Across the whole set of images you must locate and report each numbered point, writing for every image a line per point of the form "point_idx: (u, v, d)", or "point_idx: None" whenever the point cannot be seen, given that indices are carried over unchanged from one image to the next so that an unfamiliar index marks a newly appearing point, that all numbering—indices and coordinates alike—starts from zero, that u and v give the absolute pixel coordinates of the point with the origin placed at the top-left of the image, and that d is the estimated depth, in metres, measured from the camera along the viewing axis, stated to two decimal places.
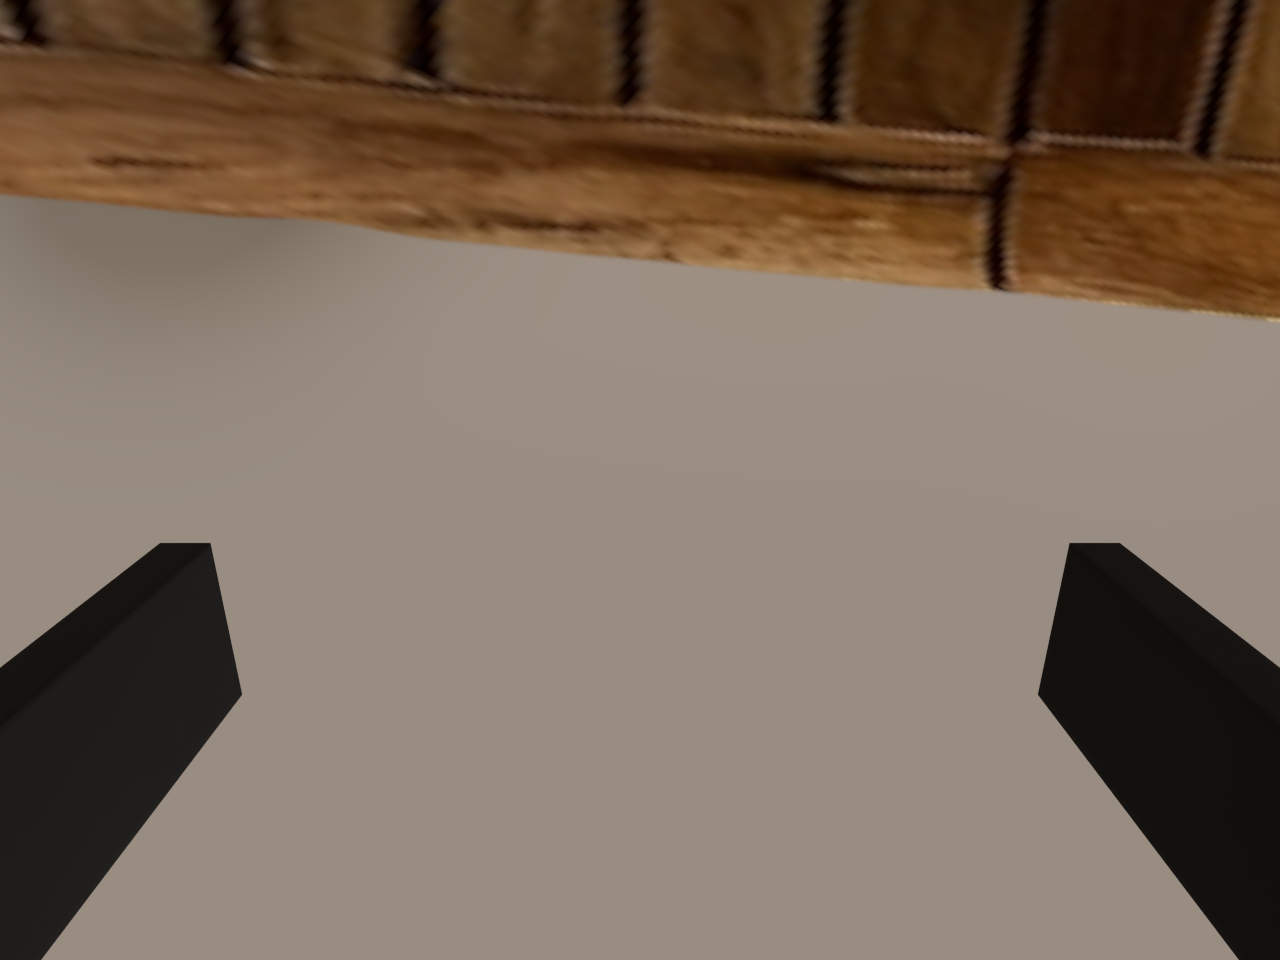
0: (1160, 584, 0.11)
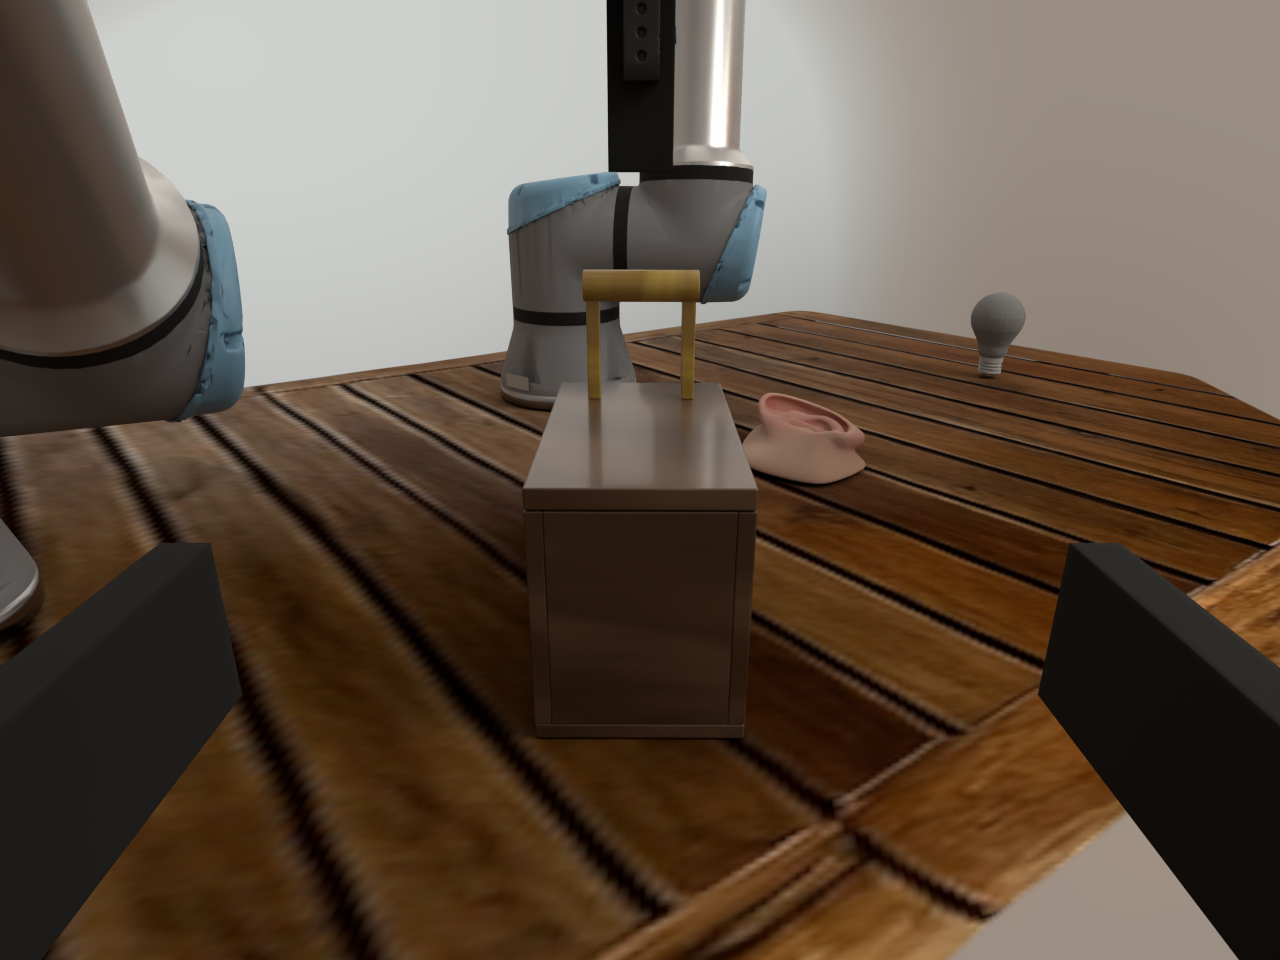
0: (1160, 584, 0.11)
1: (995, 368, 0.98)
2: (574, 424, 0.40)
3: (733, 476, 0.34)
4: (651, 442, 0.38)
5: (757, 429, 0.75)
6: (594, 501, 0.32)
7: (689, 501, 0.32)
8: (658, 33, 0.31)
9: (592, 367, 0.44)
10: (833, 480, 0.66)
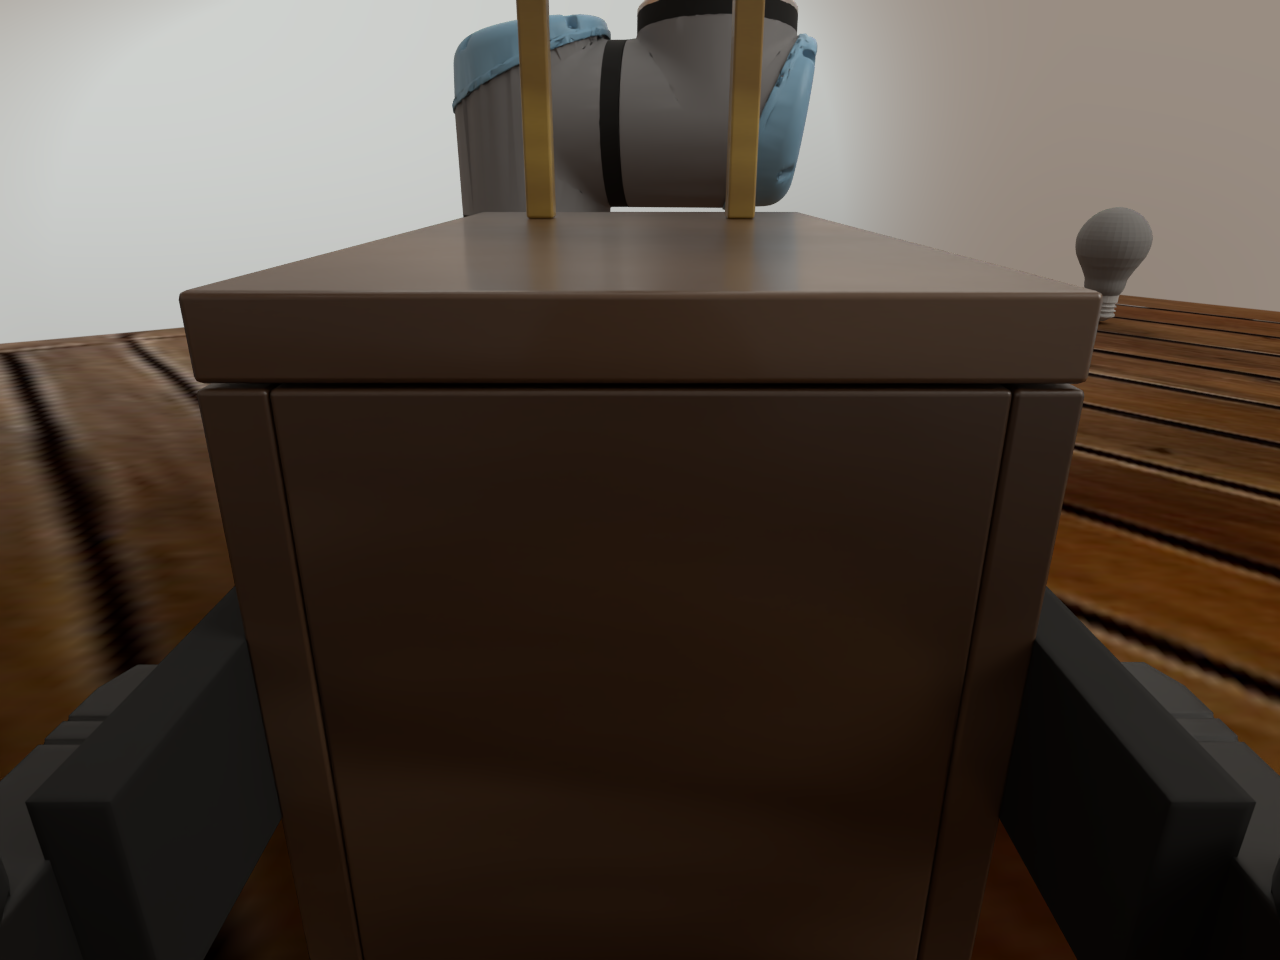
0: None
1: (1108, 310, 0.74)
2: (475, 232, 0.16)
3: (971, 275, 0.09)
4: (671, 244, 0.14)
5: None
6: (463, 346, 0.08)
7: (831, 346, 0.08)
8: None
9: (532, 142, 0.20)
10: None
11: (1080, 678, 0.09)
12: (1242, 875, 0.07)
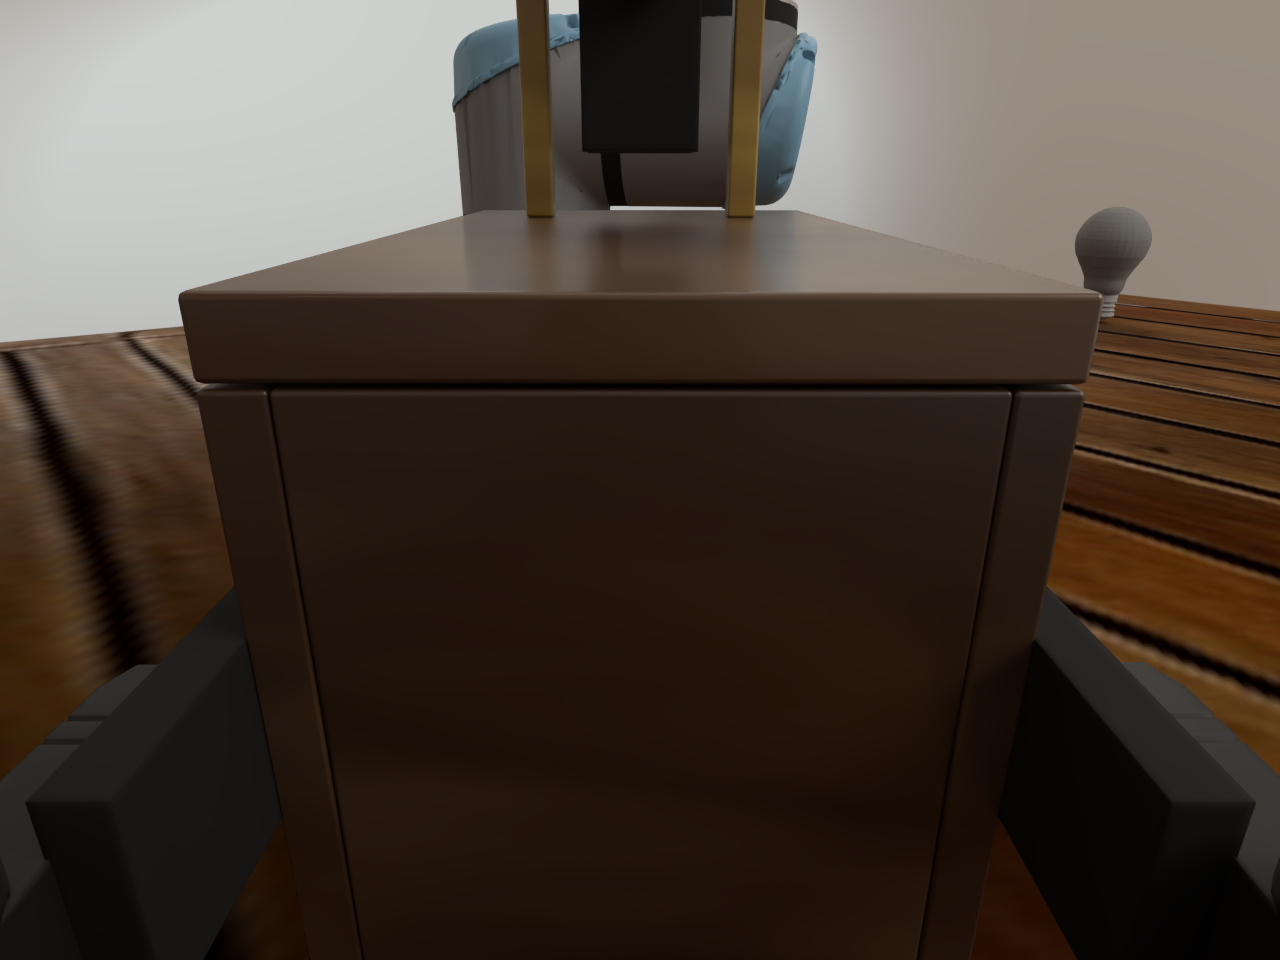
0: None
1: (1108, 309, 0.74)
2: (474, 230, 0.16)
3: (972, 276, 0.09)
4: (671, 243, 0.14)
5: None
6: (463, 347, 0.08)
7: (832, 346, 0.08)
8: None
9: (532, 139, 0.20)
10: None
11: (1080, 678, 0.09)
12: (1242, 875, 0.07)
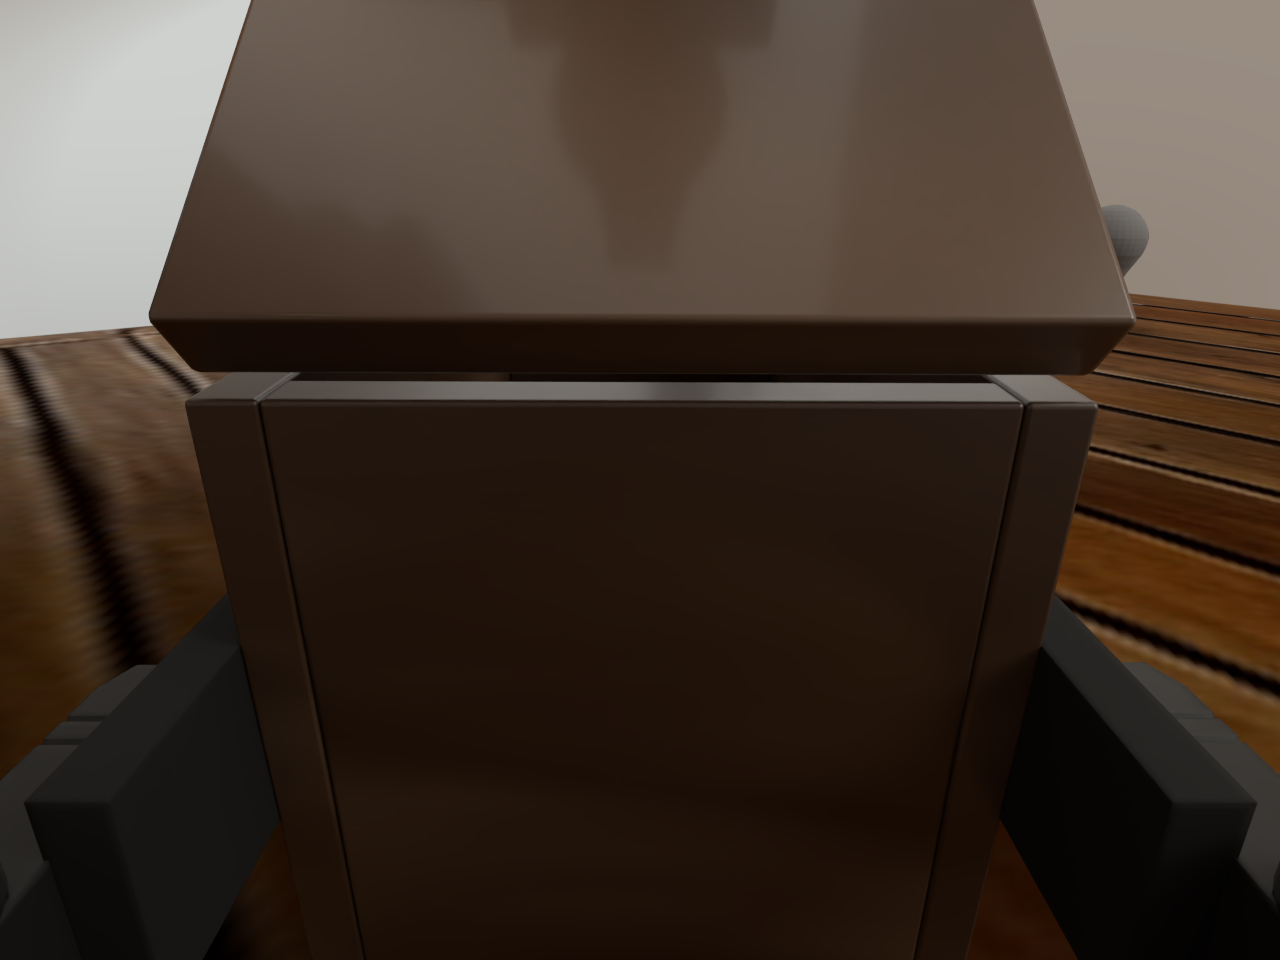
0: None
1: None
2: None
3: (1022, 213, 0.08)
4: None
5: None
6: (459, 354, 0.08)
7: (838, 354, 0.08)
8: None
9: None
10: None
11: (1081, 678, 0.09)
12: (1244, 875, 0.07)
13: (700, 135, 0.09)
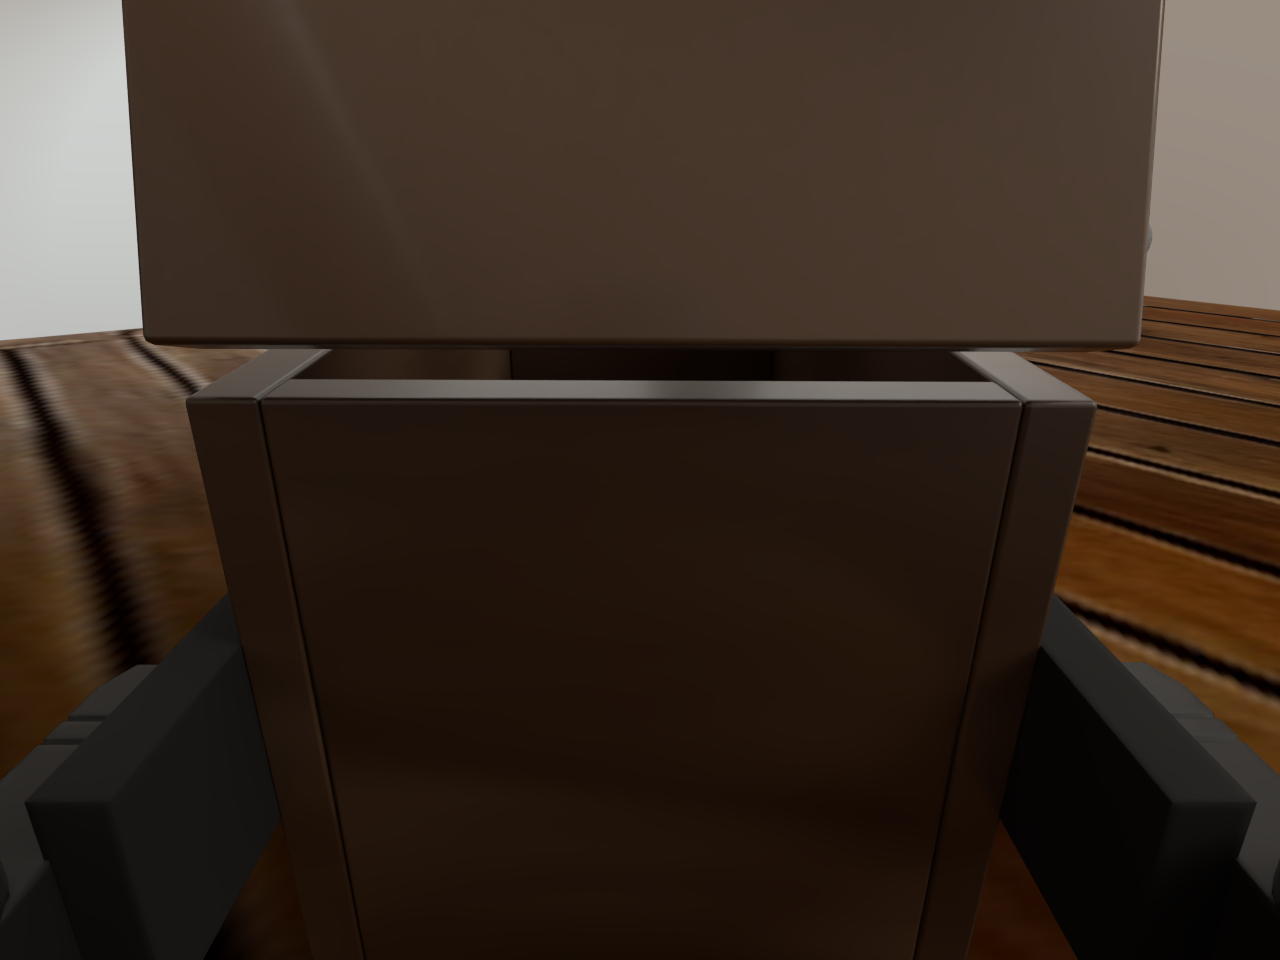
0: None
1: None
2: None
3: (1060, 198, 0.07)
4: None
5: None
6: (459, 348, 0.08)
7: (837, 349, 0.08)
8: None
9: None
10: None
11: (1081, 678, 0.09)
12: (1242, 875, 0.07)
13: (710, 72, 0.07)
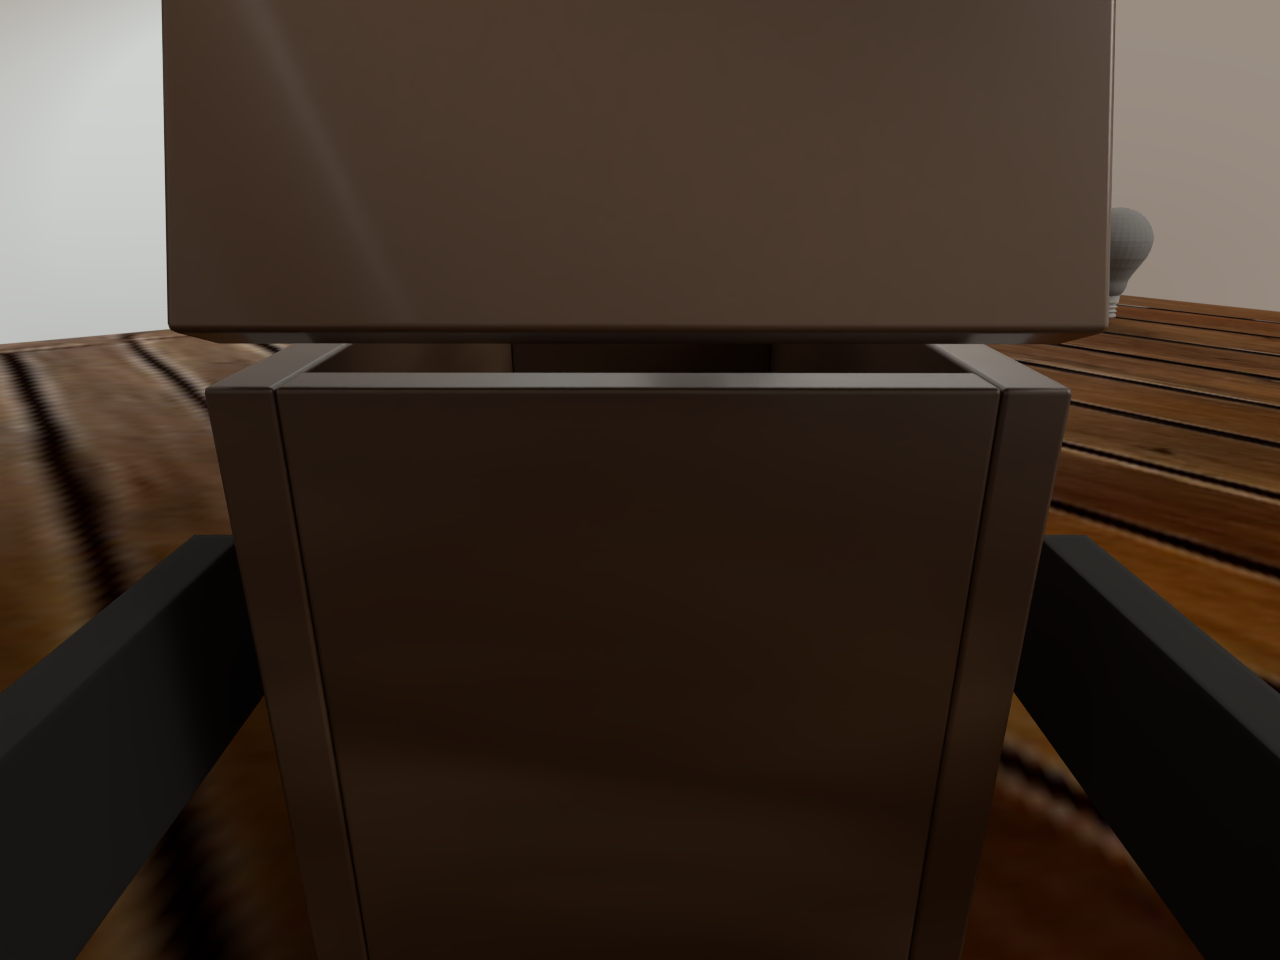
0: (1121, 574, 0.11)
1: (1109, 310, 0.74)
2: None
3: (1027, 194, 0.08)
4: None
5: None
6: (465, 340, 0.09)
7: (823, 339, 0.09)
8: None
9: None
10: None
11: (1264, 731, 0.08)
12: None
13: (700, 81, 0.08)
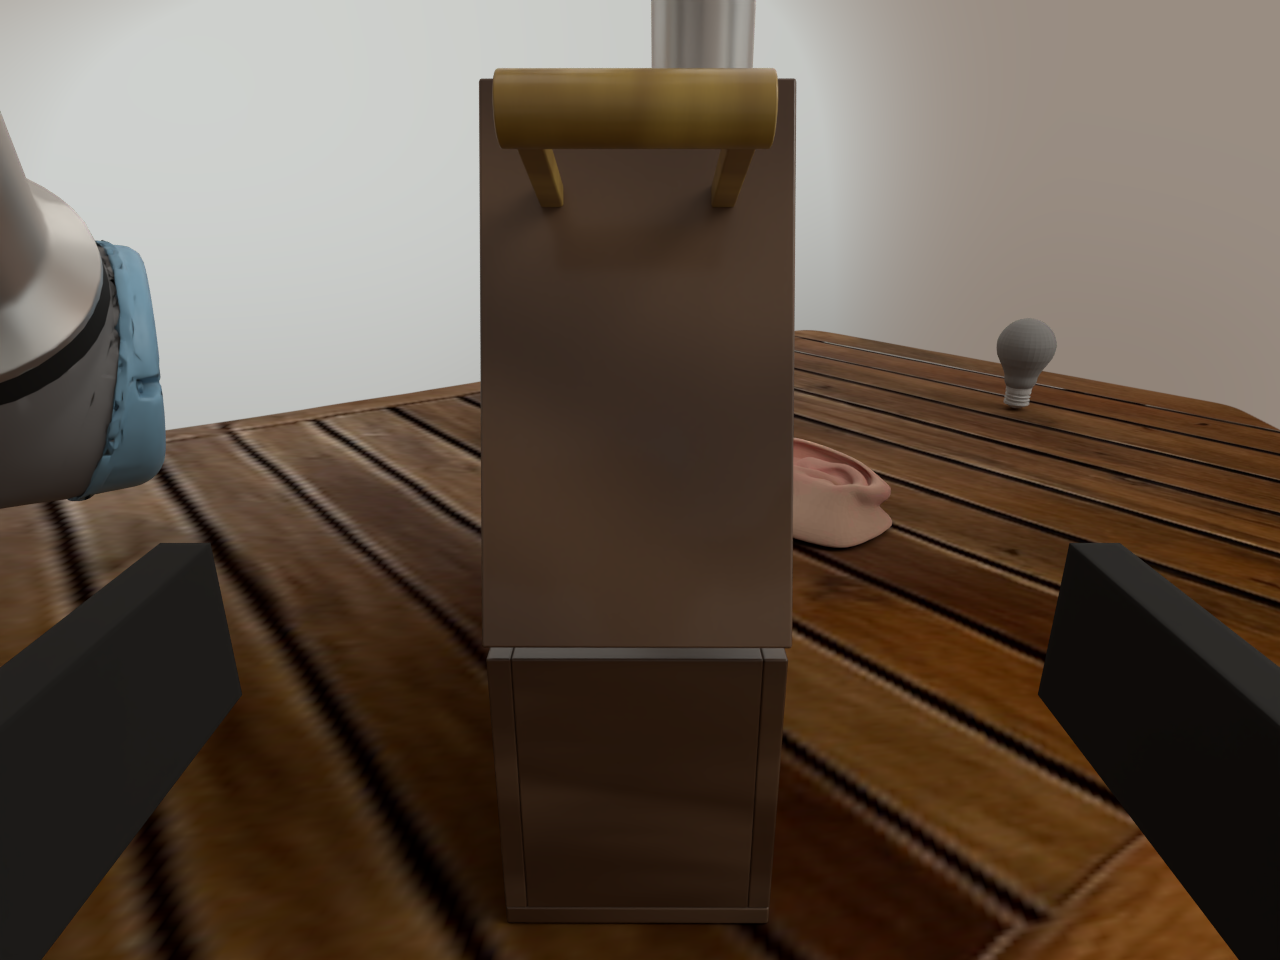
0: (1160, 584, 0.11)
1: (1023, 400, 0.91)
2: (527, 363, 0.24)
3: (764, 604, 0.25)
4: (653, 459, 0.24)
5: None
6: None
7: None
8: None
9: (541, 188, 0.22)
10: (857, 543, 0.58)
11: None
12: None
13: (657, 568, 0.25)
